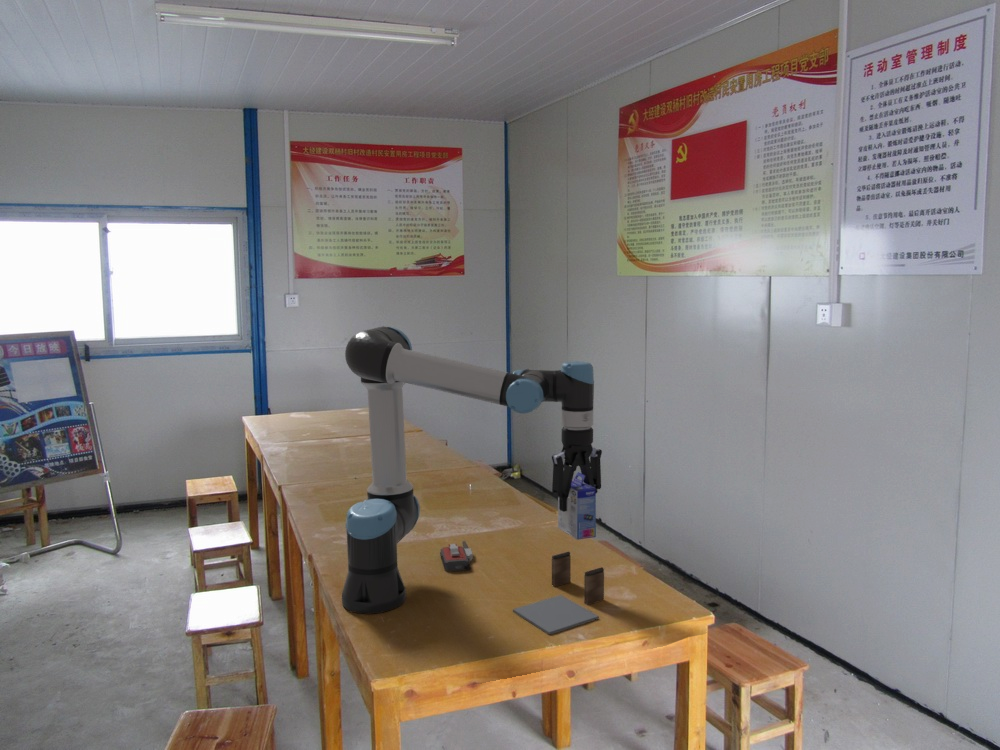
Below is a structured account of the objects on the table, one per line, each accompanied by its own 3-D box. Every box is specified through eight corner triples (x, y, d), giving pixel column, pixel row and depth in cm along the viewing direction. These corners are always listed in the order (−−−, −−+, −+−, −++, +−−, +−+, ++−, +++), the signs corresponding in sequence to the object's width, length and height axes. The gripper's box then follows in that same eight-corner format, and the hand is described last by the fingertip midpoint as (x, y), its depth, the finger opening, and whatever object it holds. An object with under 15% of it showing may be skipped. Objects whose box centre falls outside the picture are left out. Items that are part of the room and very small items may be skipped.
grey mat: (549, 634, 166) (549, 632, 165) (512, 611, 177) (512, 609, 177) (598, 618, 173) (598, 616, 173) (560, 597, 185) (560, 594, 185)
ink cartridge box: (597, 537, 182) (596, 478, 180) (577, 541, 180) (576, 481, 178) (576, 524, 191) (575, 468, 189) (557, 528, 189) (556, 471, 187)
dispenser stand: (587, 604, 180) (587, 572, 179) (551, 585, 192) (551, 554, 191) (603, 599, 183) (604, 568, 182) (567, 580, 195) (567, 550, 194)
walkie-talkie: (478, 572, 202) (467, 546, 222) (477, 556, 202) (467, 531, 221) (444, 575, 201) (437, 548, 220) (444, 558, 200) (436, 533, 220)
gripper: (555, 434, 174) (555, 532, 177) (617, 425, 184) (616, 518, 187) (535, 428, 180) (536, 524, 183) (597, 420, 190) (596, 510, 193)
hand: (576, 520), depth 185 cm, fingers closed on ink cartridge box, 6 cm apart
